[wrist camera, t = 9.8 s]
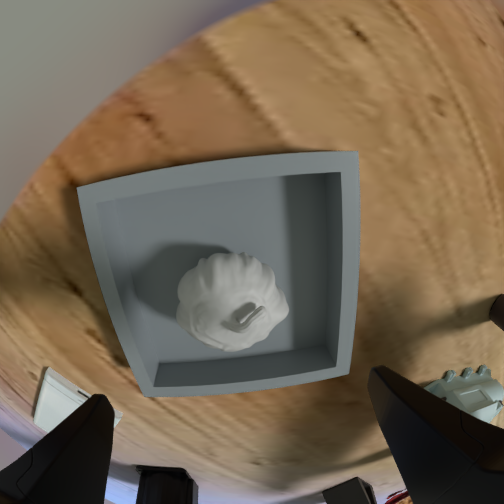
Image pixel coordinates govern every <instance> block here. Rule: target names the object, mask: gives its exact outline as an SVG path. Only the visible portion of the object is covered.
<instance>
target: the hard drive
mask: <svg viewBox="0 0 504 504" xmlns="http://www.w3.org/2000/svg"><path fill="white" fill-rule="evenodd" d="M91 396H92V395H90V394H89V393H87V392H85V391H84V390H82V389H81V388H79V387H77V386H76V385H74V384H73V383H71V382H70V381H68V380H67V379H65V378H64V377H63V376H61V375H60V374H58V373H57V372H56V371H54V370H53V369H51V368H50V367H49V368H48V369H47V370H46V373H45V376H44V380H43V383H42V387H41V391H40V394H39V398H38V402H37V406H36V411H35V415H34V419H33V422H34V423H35V424H36V425H37V426H38V427H40V428H41V429H43V430H44V431H46V432H47V433H49V432H50V431H51V430H53V429H54V428H55V427H56V426H57V425H58V424H60V423H61V422H62V421H63V420H64V419H65V418H67V417H68V416H69V415H70V414H71V413H72V412H73V411H75V410H76V409H77V408H78V407H79V406H80V405H82V404H83V403H84V402H85V401H86V400H87V399H89V398H90V397H91ZM113 409H114V408H113ZM114 411H115V420H114V427H115V426H116V425H117V423H118V422H119V421H120V420H121V418H122V415H123V413H122V412H120V411H118V410H116V409H114Z"/></svg>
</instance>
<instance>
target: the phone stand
mask: <svg viewBox="0 0 504 504" xmlns="http://www.w3.org/2000/svg"><path fill="white" fill-rule="evenodd" d="M322 493H323V496H324V498H325V500H326V503H327V504H377V502H376V498H375V495H374V491H373V488H372V486H371V485H370V484H368V483H367V482H365V481H364V480H362V479H360V478H359V477H356V478H354V479H352V480H350V481H347V482H345V483H343V484H340V485H338V486H336V487H333V488H331V489H328V490H325V491H323V492H322Z"/></svg>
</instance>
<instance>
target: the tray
mask: <svg viewBox="0 0 504 504" xmlns="http://www.w3.org/2000/svg"><path fill="white" fill-rule="evenodd" d="M77 193H78V198H79V204H80V209H81V214H82V219H83V224H84V228H85V232H86V237H87V241H88V245H89V249H90V253H91V257H92V260H93V264H94V267H95V271H96V274H97V278H98V281H99V284H100V288H101V291H102V294H103V297H104V300H105V303H106V306H107V309H108V312H109V315H110V317H111V320H112V323H113V326H114V328H115V331H116V333H117V336H118V339H119V341H120V344H121V346H122V349H123V351H124V353H125V356H126V358H127V360H128V363H129V365H130V367H131V370H132V372H133V374H134V376H135V378H136V380H137V383H138V385H139V387H140V389H141V391H142V393H143V395H144V397H185V396H205V395H220V394H231V393H241V392H250V391H259V390H266V389H273V388H280V387H287V386H293V385H299V384H304V383H309V382H315V381H320V380H325V379H329V378H334V377H338V376H343V375H347V374H349V370H350V363H351V355H352V348H353V339H354V330H355V320H356V309H357V297H358V282H359V261H360V178H359V158H358V151H317V152H297V153H282V154H269V155H258V156H248V157H238V158H230V159H221V160H213V161H206V162H199V163H192V164H186V165H179V166H173V167H167V168H162V169H156V170H151V171H145V172H140V173H135V174H130V175H126V176H121V177H116V178H112V179H107V180H103V181H99V182H95V183H92V184H88V185H84V186H81V187H77ZM241 252H246V253H247V254H248V255H250V256H254V257H255V258H256V259H257V260H258V261H260V262H261V263H264V264H267V265H269V266H270V267H271V268H272V270H273V272H274V275H275V285H277V286H278V287H279V288H280V289H281V290H282V291H283V293H284V295H285V298H286V302H287V304H288V307H289V312H288V315H287V316H286V318H285V319H283V320H282V321H281V322H280V323H278V324H277V325H276V326H275V327H274V328H273V329H272V330H271V331H270V332H269V335H268V336H267V337H266V338H265V339H264V340H262V341H259V342H256V343H254V344H253V345H252V346H251V347H249V348H245V349H242V350H239V351H235V352H226V351H222V350H220V349H216V348H210V347H207V346H205V345H204V344H203V343H202V342H200V341H198V340H196V339H195V338H193V337H192V336H190V335H189V334H188V333H187V332H186V331H185V330H184V329H182V328H181V327H180V326H179V324H178V323H177V319H176V312H177V308H178V305H179V303H180V300H179V298H178V285H179V282H180V280H181V279H182V277H183V276H184V275H185V274H186V272H188V271H189V270H191V269H193V268H194V267H196V266H197V265H198V262H199V260H200V259H201V258H206V259H208V258H209V257H210V256H211V255H213V254H215V253H224V254H229V253H237V254H240V253H241Z"/></svg>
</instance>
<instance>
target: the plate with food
mask: <svg viewBox="0 0 504 504" xmlns="http://www.w3.org/2000/svg"><path fill="white" fill-rule="evenodd" d="M405 490H406V489H405ZM400 492H401V491H400ZM398 493H399V492H398ZM396 494H397V493H395V494H394V495H392V496H394V497H392V496H389V497H388V498H387V499H389V498H390V497H392V498H391V499H390V500H388V501H387V502H386V503H385V504H413V503H412V500H411V498H410V495H409V493H408V492H407V491H406V493H405V492H404V494H403V493H401V494H402V495H401V494H398V495H396ZM395 495H396V496H395ZM398 496H399V497H398ZM396 497H397V498H396Z"/></svg>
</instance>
